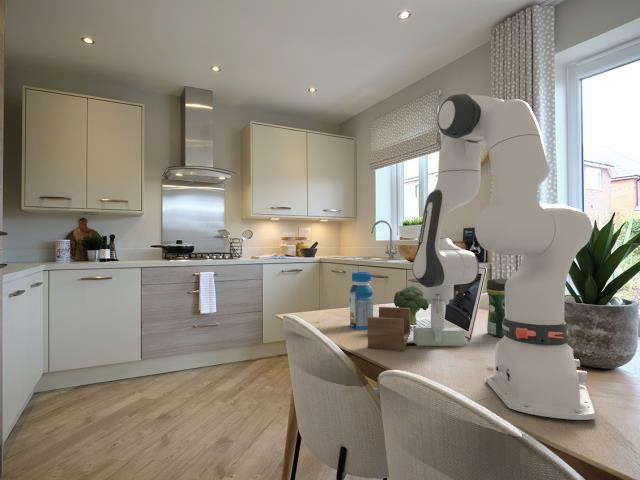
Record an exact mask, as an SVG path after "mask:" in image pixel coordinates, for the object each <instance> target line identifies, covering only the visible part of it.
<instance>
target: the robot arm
mask: <svg viewBox="0 0 640 480" xmlns="http://www.w3.org/2000/svg"><path fill="white" fill-rule="evenodd" d="M436 121H437V127H438V130H439V132H441V134H442V135H444V136H446V137H445V138H444V139H443V141H442V144H441V148H440V152H439V158H438V159H439V160H438V169H437V170H438V171H437V182H436V185H435V187H434V189H433V191H431V192H430V193H429V194H428V195H427V198H426V201H425V204H424V209H423V213H422V214H423V215H422V221H421V226H420V233H419V238H418V243H417V248H416V251H415V255H414V258H413V261H412V269H411V270H412V275H413V276H414V279H415V280H416V281H417V282H418V283H419V284H421V285H422V292H423V298H426V299H427V303H428V304H429V305H430V328H432V329H434V333H435V341H437V342H441V334H442V330H443V329H444V328H446V327H445V325H446V321H445V320H446V319H445V318H446V317H445V316H446V309H447V306H448V305H449V304H450V300H453V299H454V285H455V286H456V285H465V284H471V283H473V282H474V281H475V280H476V279H477V277H478V275H479V272H480V264H479V260H478V258H477V256H476V254H474V253H473V252H472V251H471V250H466V249H465V248H461V247H459V246H457V245H456V244H454V243H453V241H452V240H451V239H450V238H448V237H442V236H441V235H442V229H443V222H444V219H445V218H446V216H447V215H448V214H449V213H450V212H452V211H454V210H456V209H457V208H461V207H463V206H465V205H466V204H469V203H470V202H472V201H473V199H474V198H476V196H477V195H478V194H479V191H480V187H481V178H482V177H481V172H482V170H481V169H482V168H481V167H482V163H481V159H482V153H483V151H484V150H485V149H486V148H487V154H488V158H489V164H490V169H491V177H492V192H491V196H490V199H489V202H488V204H487V205H486V207H484V208H483V209H482V210H481V211H480V213H479V214H478V216H477V217H476V220H475V224H474V234H475V238H476V240H477V242H478V244H479V246H480V247H481V248H482V249H484V250H485V251H488V252H492V253H496V254H500V255H506V256H522V259H521V263H520V265H519V267H518V269H517V270H516V272H514V274H512V275H510V276H509V277H508V278H507V279H508V280H507V281H506V283H505V317H504V318H503V323H502V327H503V334H504V337H501V339H500V340H499V341H497V342H496V343H495V347H494V349H495V352H494V353H495V354H494V374H490V375H487V376H486V379H485V382H486V383H487V384H488V386H489V387H490V388H491V389H492V390H493V391H494V393H495V394H496V395H497V396H498V397H499V398H500V400H501V401H502V402H503V403H504V404H505V406H506V407H508V408H509V409H512V410H514V411H517V412H521V413H524V414H525V413H526V414H530V415H535V416H539V417H547V418H548V417H549V418H553V419H565V420H572V421H573V420H576V421H577V420H579V421H581V420H582V421H583V420H584V421H585V420H595V419H596V418H597V417H596V411H595V407H594V405H593V402H592V400H591V397H590V394H589V391H588V388H587V387H586V386H585V385H587V384H588V383H589V381H588V380H589V375H588V372H587V371H586V370H577V367H579V368H580V367H581V360H580V359H577V358H575V356H574V349H573V348H572V347H571V346H570V345H568V343H569V341H570V340H569V329H568V325H567V322H565V296H566V285H567V278H568V276H569V272H570V270H571V267H572V264H573V263H574V260H575V258H576V256H577V255H578V253H579V252H580V251H581V250H582V249H583V248H584V247H585V246H586V245H587V244H588V243H589V242H590V239H591V237H592V233H593V226H592V221H591V219H590V218H589V216H588V215H587V214H586V213H585V212H584V211H582V210H580V209H578V208H575V207H572V206H569V205H565V204H560V203H559V204H557V203H556V204H553V203H540V202H539V199H538V186H539V185H541V184H542V183H543V182H545V180H546V179H547V178H548V176H549V173H550V166H549V162H548V157H547V153H546V150H545V146H544V141H543V137H542V133H541V130H540V127H539V124H538V121H537V119H536V117H535V115H534V112H533V111H532V108H531V107H530V105H529V104H528V103H527V102H526V101H524V100H521V99H517V98H516V99H515V98H511V99H505V100H503V99H500V98H497V97H492V96H491V97H490V96H488V95H481V94H479V95H478V94H466V93H458V94H453V95H449V96H448V97H447V98H445V100H444V101H443V102H442V104H441V105H440V107H439V110H438V114H437V120H436ZM583 384H585V385H583Z"/></svg>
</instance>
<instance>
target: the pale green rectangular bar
mask: <svg viewBox="0 0 640 480" xmlns="http://www.w3.org/2000/svg"><path fill="white" fill-rule="evenodd" d="M412 328H413V329H412V330H413V331H412V332H413V333H412V335H413V336H412V337H413V339H412V340H413V341H414V342H415V343H414V342H413V343H414V344H415V346H422V347H423V346H433V347H434V346H436V347H437V346H441V347H443V346H445V347H448V346H449V347H452V346H454V347H455V346H456V347H457V346H459V347H463V346H465V330H464V329H462V328H461V327H444V329H443V330H442V334H441V342H437V341H435V333H434V329H432V328H431V327H412Z"/></svg>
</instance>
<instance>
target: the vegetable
mask: <svg viewBox="0 0 640 480" xmlns="http://www.w3.org/2000/svg"><path fill="white" fill-rule="evenodd" d="M393 305H394V306H395V307H398V308H410V325H417V317H416V315H417V313H418V312H419V311H420V310H421V309H422V310H423V311H427V309H428V308H429V307H430V304H428V303H427V299H426V298H423V290H422V289H419V288H418V287H417V286H414V285H411V286H410V285H409V286H408V287H404V289H402V290H398V291H396V292H395V294H394V299H393ZM417 326H418V325H417Z"/></svg>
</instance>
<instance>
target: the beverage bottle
mask: <svg viewBox="0 0 640 480" xmlns="http://www.w3.org/2000/svg"><path fill="white" fill-rule="evenodd" d="M351 282H352V283H353V284H352V286H351V287H350V290H349V293H350V296H349V322H350V323H349V327H350V328H351V329H353V330H358V331H368V317H374V302H375V301H374V296H373V294H374V290H373V288H372V286H371V284H370V283H371V282H372V274H371V272H367V271H366V272H365V271H354V272H351Z"/></svg>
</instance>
